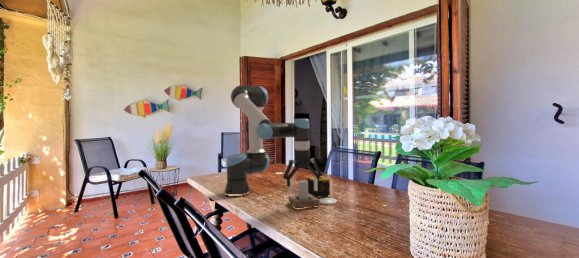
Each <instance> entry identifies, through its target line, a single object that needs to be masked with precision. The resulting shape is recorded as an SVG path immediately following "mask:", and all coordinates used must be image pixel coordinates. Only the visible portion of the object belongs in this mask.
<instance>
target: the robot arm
mask: <svg viewBox="0 0 579 258" xmlns="http://www.w3.org/2000/svg"><path fill="white" fill-rule="evenodd" d="M230 101H231V102H232V105H234V107H236V108H238V109H239V110H240V111H241V112H242V113H243V114H244V115H245V116H246V117H247V118H248V149H247V151H246V153H242V152H241V153H235V154H231V155H229V156H228V157H227V158H226V163H225V165H226V184H225V188H224V191H223V192H225V193H226V194H244V193H247V192H249V191H250V192H251V187H250V185H249V181H248V175H252V174H257V173H258V174H260V173H264V172H266V171H267V169H269V167H270V157H269V155H268V154H267V153H266V150H265V149H264V145H263V144H264V140H269V139H270V140H271V139H282V138H283V139H285V138H294V149H295V150H294V159H289V160H288V165H287V167H286V169H285V171H284V174H283V176H282V179H283V180H286V186H287V187H288V193H289V194H293V180H292V178H293V176H294V175H295V174H296V172H297V171H298V170H299V169H308V170H309V171H310V172H311V174H313V175H314V176H316V177H314V176H313V177H314V190H316V191H318V185H317V184H319V178H320V176H323V172H322V171H321V168H320V167H319V165H318V163H317V158H314V157H312V158H311V150H310V148H311V142H310V141H311V139H310V120H309V119H308V118H295V119H294V121H293V122H281V123H280V122H275V123H274V122H272V121H271V120H270V119H269V118H268V117H267V116H266V115H265V114H264V113H263V110H264V109H265V105H267V104H268V101H269V94H268V92H267V89H266V88H265V87H263V86H259V85H245V84H241V85H240V84H239V85H237V86H235V87H234V88H233V89H232V90H231V94H230ZM310 163H312V164H313V167H314V168H313V167H312V166H311V164H310ZM294 164H295V165H294ZM293 165H294V166H293ZM292 167H293V168H292ZM225 193H224V194H225Z"/></svg>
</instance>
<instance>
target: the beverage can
mask: <svg viewBox="0 0 579 258" xmlns="http://www.w3.org/2000/svg"><path fill="white" fill-rule="evenodd" d="M297 186H298V195H299V200H308V181H307V179H306V180H304V179H303V180H298V185H297Z"/></svg>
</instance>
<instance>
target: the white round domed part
mask: <svg viewBox="0 0 579 258" xmlns="http://www.w3.org/2000/svg"><path fill="white" fill-rule="evenodd" d="M318 199H319V203H322V204H334V203H336V202H337V203H338V200H337V199H336V198H334V197H333V198H332V197H321V198H318ZM337 203H336V204H337ZM322 204H321V205H322ZM334 205H335V204H334Z"/></svg>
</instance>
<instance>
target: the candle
mask: <svg viewBox="0 0 579 258" xmlns="http://www.w3.org/2000/svg"><path fill="white" fill-rule="evenodd" d="M314 177H316V176H315V175H314V176H307V179H306V181H308V193H309V194H311V195H313V196H314V197H318V196H328V195H330V196H331V188H330V186H331V178H328V177H327V176H324V175H322V176H320V178H319V184H317V185H318V191H316V190H314Z"/></svg>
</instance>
